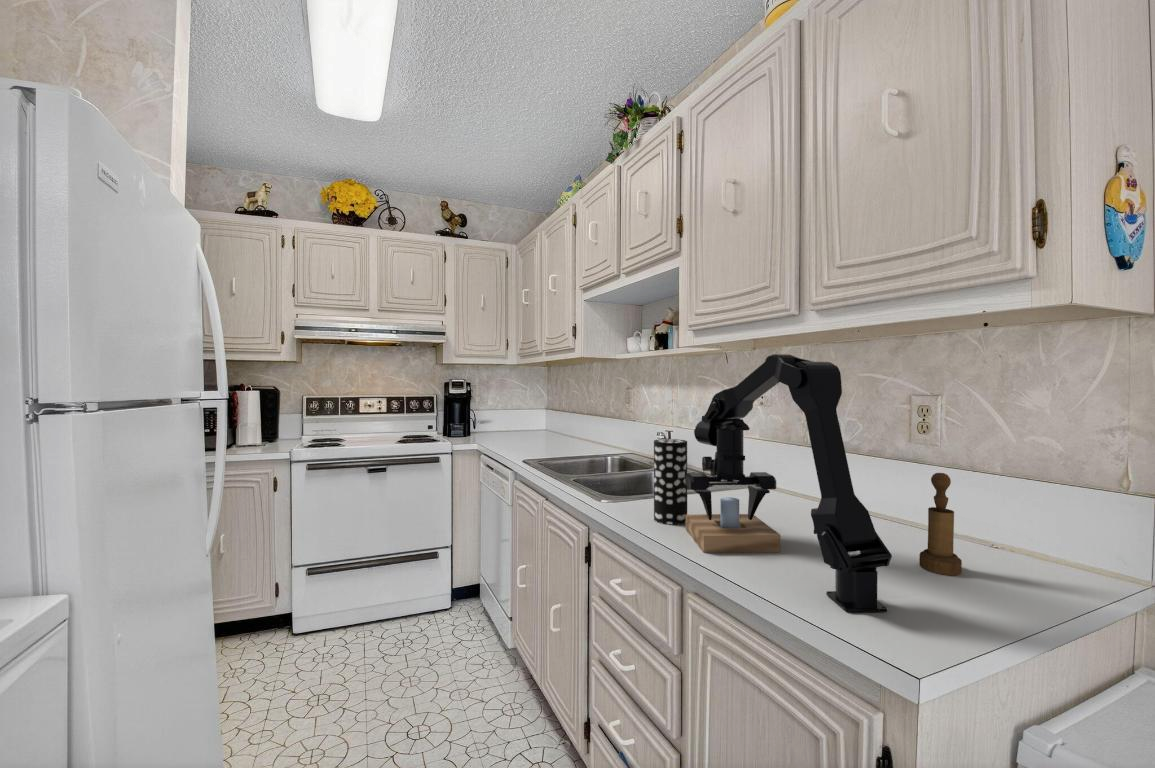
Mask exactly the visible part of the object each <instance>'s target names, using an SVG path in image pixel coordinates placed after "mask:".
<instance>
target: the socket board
mask: <svg viewBox="0 0 1155 768" xmlns="http://www.w3.org/2000/svg"><path fill="white" fill-rule="evenodd" d="M685 530H686V532H687V533H688V534H689V536H690V537H691V538H692V539H693V541H694V542H695V543H696V545H697V546H698V547H699V550H701V551H702V553H705V554H706V553H707V554H708V553H709V554H710V553H714V554H715V553H780V552H782V550H781V549H782V548H781V547H782V546H781V545H782V543H781V541H782V538H781V537H782V536H781V534H780V533H779V532H777V531H776V530H775V529H773V528H772V527H771V526H769V525H768V524H767V523H765V522H764V521H763V520H762V519H760V518H759V517H757V516H756V515H755V514H754V516H753V518H752V520H749V519H748V513H739V528H721V513H719V514H717V513H716V514H714V513H712V519H711V520H709V519H708V516H707V513H706V514H704V513H703V514H687V515H686V523H685Z"/></svg>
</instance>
